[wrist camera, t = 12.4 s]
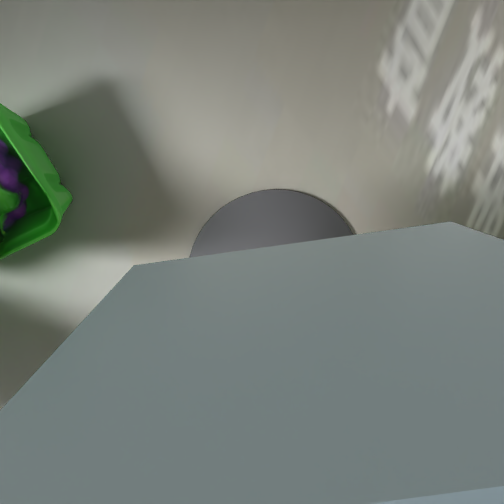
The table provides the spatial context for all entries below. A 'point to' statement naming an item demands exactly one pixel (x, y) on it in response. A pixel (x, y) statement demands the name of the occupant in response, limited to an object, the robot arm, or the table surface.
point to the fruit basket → (26, 187)
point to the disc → (268, 223)
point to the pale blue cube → (277, 380)
